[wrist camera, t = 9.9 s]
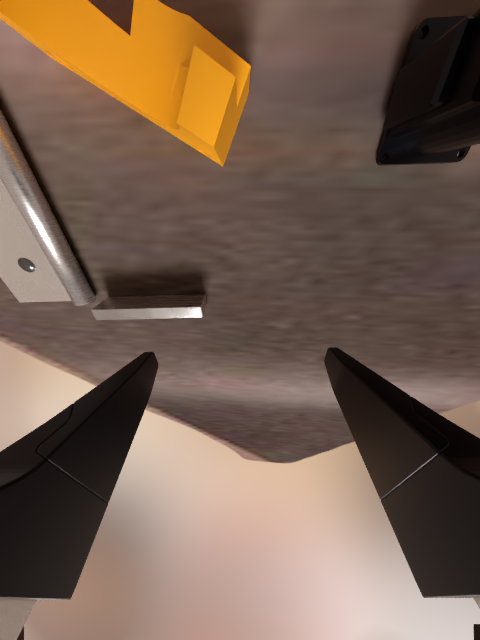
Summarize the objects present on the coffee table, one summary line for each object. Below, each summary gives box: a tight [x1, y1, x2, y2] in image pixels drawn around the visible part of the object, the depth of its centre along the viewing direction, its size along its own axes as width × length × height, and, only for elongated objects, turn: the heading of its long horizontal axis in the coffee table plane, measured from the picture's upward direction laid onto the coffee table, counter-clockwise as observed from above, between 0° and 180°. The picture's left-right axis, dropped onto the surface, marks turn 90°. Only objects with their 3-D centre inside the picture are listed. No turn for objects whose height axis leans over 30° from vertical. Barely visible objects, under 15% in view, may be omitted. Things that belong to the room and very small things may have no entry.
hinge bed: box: [0, 109, 207, 320], centre depth 13 cm, size 20×25×3 cm
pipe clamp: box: [0, 0, 251, 166], centre depth 10 cm, size 12×4×6 cm, turn 63°
